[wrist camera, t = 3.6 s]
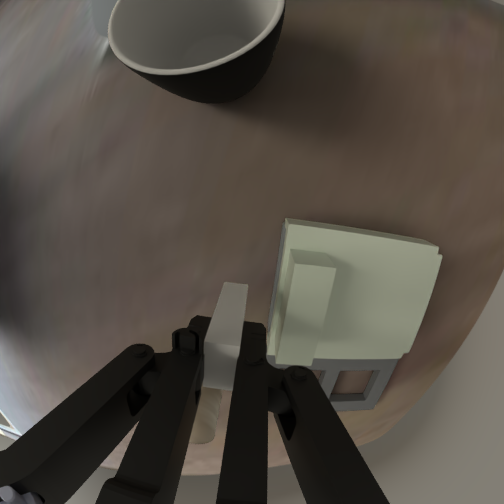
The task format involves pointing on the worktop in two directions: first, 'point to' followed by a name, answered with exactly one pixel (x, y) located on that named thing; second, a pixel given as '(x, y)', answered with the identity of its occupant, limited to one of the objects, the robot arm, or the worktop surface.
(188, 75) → the mug
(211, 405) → the pin
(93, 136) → the worktop surface
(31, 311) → the worktop surface
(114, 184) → the worktop surface
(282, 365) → the socket board
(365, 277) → the cover
